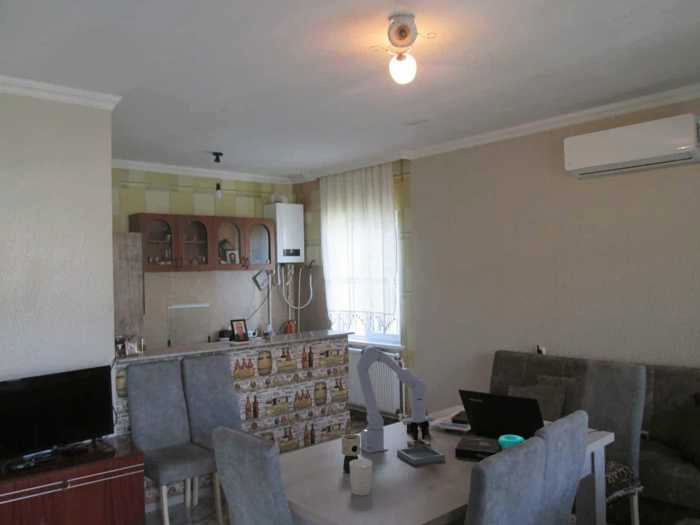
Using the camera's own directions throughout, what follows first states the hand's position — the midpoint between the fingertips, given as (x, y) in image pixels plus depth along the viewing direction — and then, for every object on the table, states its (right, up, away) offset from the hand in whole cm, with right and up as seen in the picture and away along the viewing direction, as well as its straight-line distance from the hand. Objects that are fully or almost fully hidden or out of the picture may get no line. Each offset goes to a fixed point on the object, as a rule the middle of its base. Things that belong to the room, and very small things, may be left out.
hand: (418, 439), depth 239 cm
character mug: (-29, -3, -28) cm, 41 cm away
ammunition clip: (+2, -4, +20) cm, 21 cm away
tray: (-1, -3, -15) cm, 15 cm away
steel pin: (0, -3, 0) cm, 3 cm away
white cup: (-26, -3, -48) cm, 55 cm away
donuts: (+34, -2, -22) cm, 41 cm away
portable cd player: (+24, -3, -9) cm, 26 cm away
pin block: (0, -3, 0) cm, 3 cm away
